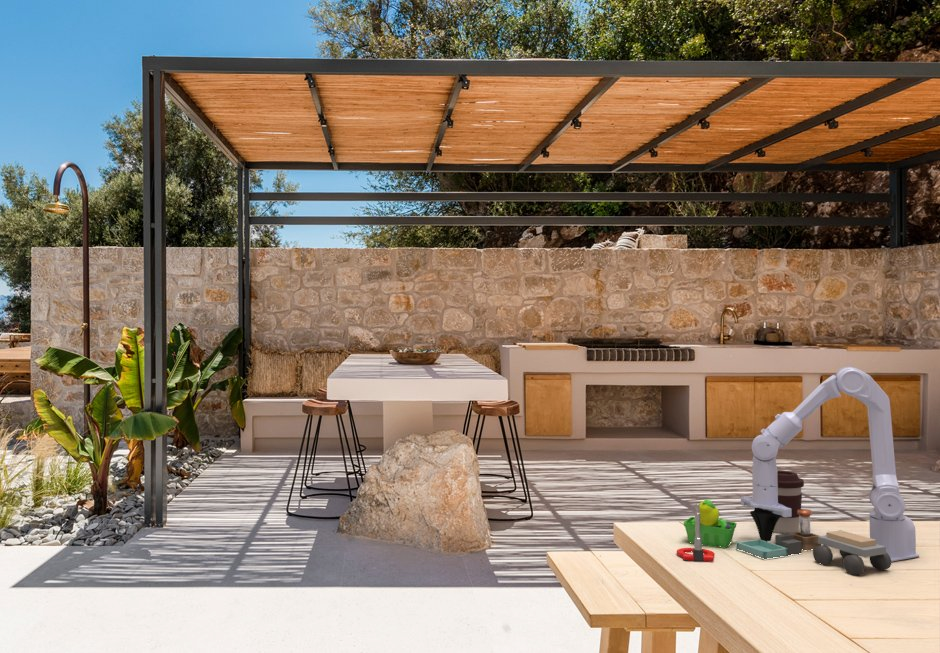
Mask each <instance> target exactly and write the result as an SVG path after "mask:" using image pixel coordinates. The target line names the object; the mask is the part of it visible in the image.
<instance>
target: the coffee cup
mask: <svg viewBox="0 0 940 653" xmlns="http://www.w3.org/2000/svg"><path fill="white" fill-rule="evenodd" d="M777 477H778V503H779V504H781V505H783V506H785V507H788V508H791V510H792V517H782V516H781V517H780V518H779V519H778V521H777V523H776V525H775V528H774V531H773V533H774V532H775V533H778V532H779V533H778V534H785V533H795V532H799V514H797V510H798V509H802V500H803V498H802V497H803V493H802V488H803V487H805V480H804V479H803V478H801V477H799V476H798V474H797V472H795V471H788V470H787V471H786V470H777Z"/></svg>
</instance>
